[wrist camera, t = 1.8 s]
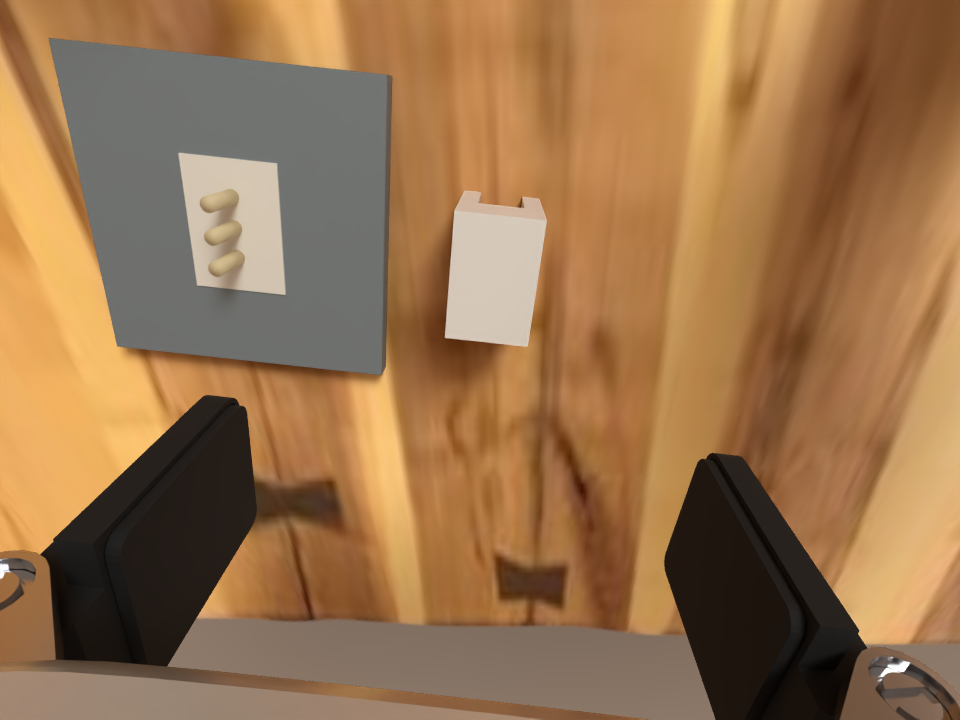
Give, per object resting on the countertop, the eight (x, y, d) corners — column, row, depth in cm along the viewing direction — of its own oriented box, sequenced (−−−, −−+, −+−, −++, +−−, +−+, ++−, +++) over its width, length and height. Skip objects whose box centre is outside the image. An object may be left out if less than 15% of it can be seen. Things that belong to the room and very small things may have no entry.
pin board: (391, 76, 26) (375, 71, 23) (385, 366, 33) (371, 395, 30) (67, 40, 26) (2, 31, 23) (130, 338, 33) (87, 364, 30)
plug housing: (539, 198, 28) (546, 220, 23) (524, 304, 31) (527, 346, 25) (464, 190, 28) (454, 210, 23) (455, 296, 31) (444, 337, 25)
